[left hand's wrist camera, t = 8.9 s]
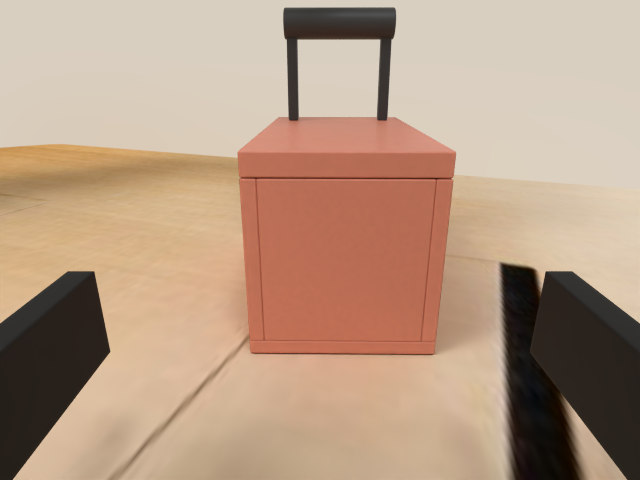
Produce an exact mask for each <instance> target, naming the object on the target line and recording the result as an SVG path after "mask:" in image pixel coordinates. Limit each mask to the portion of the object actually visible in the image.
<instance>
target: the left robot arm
mask: <svg viewBox="0 0 640 480" xmlns="http://www.w3.org/2000/svg"><path fill="white" fill-rule="evenodd" d="M109 353H110V348H109V343H108V338H107V333H106V328H105V323H104V318H103V313H102V308H101V303H100V298H99V293H98V288H97V283H96V278H95V273H94V271H68V272H66V273H65V274H64V275H63V276H61V277H60V278H59V279H57V280H56V281H55V282H54V283H52V284H51V285H50V286H48V287H47V288H46V289H44V290H43V291H42V292H41V293H39V294H38V295H37V296H35V297H34V298H33V299H31V300H30V301H29V302H28V303H26V304H25V305H24V306H22V307H21V308H20V309H18V310H17V311H16V312H15V313H13V314H12V315H11V316H9V317H8V318H7V319H6V320H4V321H3V322H2V323H0V480H13V478H14V477H15V476H16V475H17V473H18V472H19V471H20V469H21V468H22V467H23V465H24V464H25V463H26V461H27V460H28V459H29V458H30V456H31V455H32V454H33V452H34V451H35V450H36V448H37V447H38V446H39V444H40V443H41V442H42V440H43V439H44V438H45V437H46V435H47V434H48V433H49V431H50V430H51V429H52V427H53V426H54V425H55V423H56V422H57V421H58V420H59V418H60V417H61V416H62V414H63V413H64V412H65V410H66V409H67V408H68V406H69V405H70V404H71V403H72V401H73V400H74V399H75V397H76V396H77V395H78V393H79V392H80V391H81V389H82V388H83V387H84V385H85V384H86V383H87V382H88V380H89V379H90V378H91V376H92V375H93V374H94V372H95V371H96V370H97V368H98V367H99V366H100V365H101V363H102V362H103V361H104V359H105V358H106V357H107V355H108V354H109ZM530 353H531V354H532V355H533V357H534V358H535V359H536V361H537V362H538V363H539V365H540V366H541V367H542V368H543V370H544V371H545V372H546V374H547V375H548V376H549V378H550V379H551V380H552V382H553V383H554V384H555V385H556V387H557V388H558V389H559V391H560V392H561V393H562V395H563V396H564V397H565V399H566V400H567V401H568V403H569V404H570V405H571V406H572V408H573V409H574V410H575V412H576V413H577V414H578V416H579V417H580V418H581V420H582V421H583V422H584V423H585V425H586V426H587V427H588V429H589V430H590V431H591V433H592V434H593V435H594V437H595V438H596V439H597V440H598V442H599V443H600V444H601V446H602V447H603V448H604V450H605V451H606V452H607V454H608V455H609V456H610V458H611V459H612V460H613V461H614V463H615V464H616V465H617V467H618V468H619V469H620V471H621V472H622V473H623V475H624V476H625V477H626V478H627V480H640V323H638V322H637V321H636V320H634V319H633V318H632V317H631V316H629V315H628V314H627V313H625V312H624V311H623V310H621V309H620V308H619V307H618V306H616V305H615V304H614V303H612V302H611V301H610V300H609V299H607V298H606V297H605V296H603V295H602V294H601V293H599V292H598V291H597V290H596V289H594V288H593V287H592V286H590V285H589V284H588V283H586V282H585V281H584V280H583V279H581V278H580V277H579V276H577V275H576V274H575V273H574V272H572V271H546V273H545V278H544V283H543V288H542V293H541V298H540V303H539V308H538V313H537V318H536V323H535V328H534V333H533V338H532V343H531V348H530Z"/></svg>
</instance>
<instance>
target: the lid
mask: <svg viewBox="0 0 640 480" xmlns="http://www.w3.org/2000/svg"><path fill="white" fill-rule="evenodd" d="M283 23H284V36H285V39H287V65H288V107H289V117H279V118H277V119H276V120H275V121H274V122H272V123H271V124H270V125H269V126H268V127H267V128H265V129H264V130H263V131H262V132H261V133H259V134H258V135H257V136H256V137H255V138H254V139H252V140H251V141H250V142H249V143H248V144H246V145H245V146H244V147H243V148H242V149H240V150H239V151H238V166H239V176H240V177H261V178H453V176H454V168H455V159H456V152H455V151H453V150H451V149H450V148H448V147H446V146H444V145H443V144H441V143H439V142H437V141H436V140H434V139H432V138H430V137H429V136H427V135H425V134H423V133H422V132H420V131H418V130H416V129H415V128H413V127H411V126H409V125H408V124H406V123H404V122H402V121H401V120H399V119H397V118H395V117H387V113H388V94H389V76H390V57H391V39H393V38H394V34H395V27H396V10H395V8H284V13H283ZM297 39H380V62H379V85H378V106H377V117H299V113H298V50H297Z"/></svg>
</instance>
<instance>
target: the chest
mask: <svg viewBox="0 0 640 480" xmlns="http://www.w3.org/2000/svg"><path fill="white" fill-rule="evenodd" d="M239 182H240V197H241V213H242V228H243V243H244V258H245V273H246V289H247V304H248V319H249V334H250V350H251V353H357V354H434V351H435V341H436V333H437V324H438V315H439V306H440V297H441V288H442V279H443V269H444V260H445V251H446V242H447V233H448V224H449V215H450V206H451V197H452V187H453V180H452V179H451V178H261V177H241V178H240V180H239Z"/></svg>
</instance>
